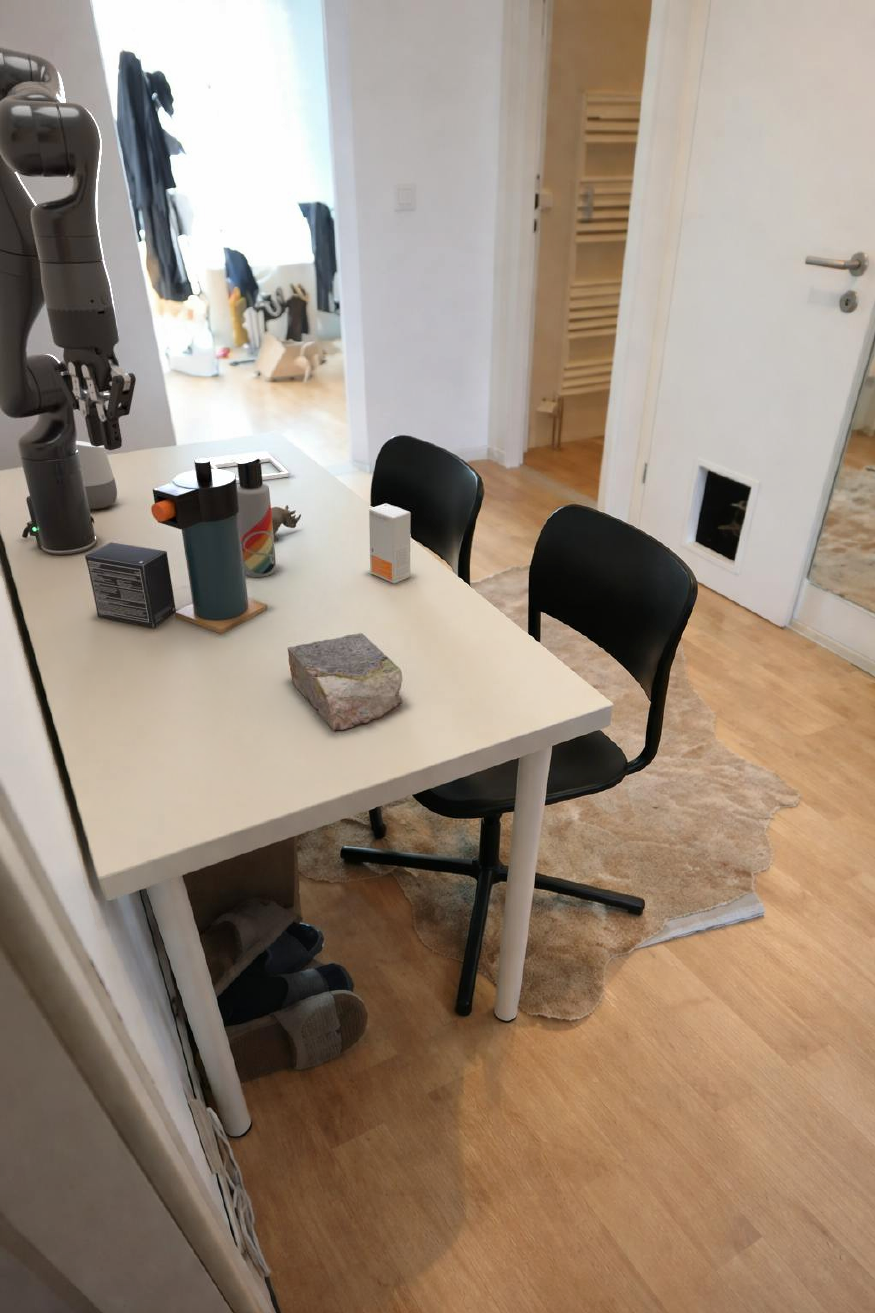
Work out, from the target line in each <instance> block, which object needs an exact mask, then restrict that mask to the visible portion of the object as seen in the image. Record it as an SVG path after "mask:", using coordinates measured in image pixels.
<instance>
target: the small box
mask: <svg viewBox="0 0 875 1313" xmlns="http://www.w3.org/2000/svg"><path fill="white" fill-rule="evenodd" d="M84 558H85V562H86V565H87V570H88V574H89V579H90V585H91V590H92V593H93V598H94V604H95V608H96V614H97V615H96V616H97V618H100V619H104V620H105V619H106V620H110V621H114V622H119V623H120V622H121V623H125V624H132V625H136V626H141V627H147V628H151V629H154V628H156V627H157V626H158V625H160V624H161V623H162V622H164V621H166V620H167V619H168V618H169V617H171V616H173V615H175V612H176V611H177V609H176V602H175V595H174V590H173V584H172V583H173V582H172V577H171V571H170V564H169V563H170V562H169V559H168V558H169V557H168V550H163V549H156V548H150V547H149V548H148V547H143V546H137V545H131V544H124V543H119V542H109V543H106V544H105V545H102V546H100V547H99V548H97V549H94V550H93V551H90V552H89V553H87V554H85V556H84Z"/></svg>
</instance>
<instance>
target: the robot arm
mask: <svg viewBox="0 0 875 1313" xmlns="http://www.w3.org/2000/svg"><path fill="white" fill-rule="evenodd" d="M101 156H102V138H101V132H100V129H99V126H98V124H97V122H96V120H95V118H94V117H93V115H92V113H91V112H89V111H88V109H87V108H86V107H85V106H83V105H82V104H79V103H75V102H69V101H68V102H66V98H65V90H64V85H63V81H62V78H61V75H60V72H59V71H58V69H57V68H56V66H55V65H54V64H53V63H52V62H51V61H50V60H48V59H47V58H45V57H42V56H39V55H36V54H34V53H33V54H32V53H27V52H24V51H20V50H17V49H16V50H15V49H11V48H6V47H2V46H0V411H1V412H2V413H3V414H4V415H6V416H8V417H9V418H11V419H25V418H30V417H35V416H37V417H38V418H37V419H36V421H35V422H34V424H33V425H32V426H31V427H30V428H29V429H28V430H27V431H25V432H24V433H23V434H21V436H19V437H18V440H17V450H18V453H19V457H20V462H21V466H22V470H23V473H24V478H25V482H26V486H27V490H28V495H27V497H26V499H25V502H26V504H27V510H28V513H29V517H30V520H29V521H28V522H26V525H27V526H26V527H25V528H24V529H23V531H22V535H21V537H22V538H23V539H27V538H28V537H29V536H30V537H34V538H35V541H36V545H37V548H38V549H41V550H42V552H44V553H46V554H49V555H55V556H56V555H57V556H58V555H59V556H61V555H62V556H64V555H66V556H67V555H74V554H78V553H82V552H84V551H88V550H90V549H92V548H93V547H94V546H96V545H97V542H98V541H97V540H98V539H97V537H96V533H95V528H94V524H95V519H94V517H93V516H92V515H91V514H92V513H91V511H90V508H89V503H88V499H87V494H86V489H85V484H84V479H83V474H82V469H81V465H80V460H79V455H78V451H77V446H76V441H77V437H78V428H77V423H76V416H75V411H76V410H78V411H79V412H80V415H81V416H82V417H83V418H84V420H85V426H86V429H87V436H88V438H89V443H91V445H92V446H96V447H98V446H104V448H105V450H106V451H107V450H108V451H113V450H114V451H115V450H118V449H121V447H122V445H123V439H122V433H121V428H120V421H119V420H120V418H121V417H125V416H128V415H130V413H131V407H132V402H133V397H134V393H135V388H136V387H135V386H136V382H137V378H136V375H135V374H134V373H133V372H125V371H124V370H122V369H121V368H120V364H119V359H118V357H117V356H116V353H115V350H114V348H115V346H116V345H117V344H119V342H120V334H119V328H118V323H117V316H116V311H115V304H114V299H113V293H112V287H111V282H110V277H109V274H108V271H107V267H106V264H105V260H104V253H103V247H102V241H101V236H100V229H99V222H98V183H99V173H100V165H101ZM18 174H19V175H21V176H25V177H31V178H33V177H34V178H68V177H69V178H72V187H71V189H70V191H69V193H68V194H67V195H65V196H63V197H61V198H58V199H53V200H49V201H44V202H41V203H37V204H36V202H35V201H34V199H33V198H32V196H31V195H30V193H29V191H28V190H27V189H26V187H25V185H24V184H23V182H22V180H21V179H20V176H19V175H18ZM45 307H46V312H47V318H48V321H49V322H48V323H49V326H50V331H51V336H52V342H53V343H54V345H55V346H57V347H58V348H62V349H63V353H62V358H63V360H61V362H60V361H59V360H58V359H57V358H56V357H55V356H53V355H52V354H48V353H38V354H33V355H32V354H31V355H28V346H29V340H30V336H31V333H32V330H33V328H34V326H35V324H36V322H37V320H38V319H39V317H40V315H41V313H42V311H43V309H44V308H45ZM104 392H105V393H104ZM106 402H108V404H107V406H106ZM28 535H29V536H28Z"/></svg>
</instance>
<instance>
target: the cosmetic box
mask: <svg viewBox="0 0 875 1313" xmlns="http://www.w3.org/2000/svg"><path fill="white" fill-rule="evenodd" d="M411 514H412V513H411V512H410V511H408V510H406V509H403V508H401V507H399V506H395V505H391V504H389V503H387V502H386V503H383V504H380V505H376V506H374V507H371V508H369V509H368V521H369V522H368V523H369V524H368V526H369V571H370V574H371V575H374V576H376V577H377V578H380V579H383V580H385V581H387V582H389V583H391V584H393V585H395V584H396V583H397V584H398V583H400V582H401V581H404V580H406V579H409V578H410V577H411V518H412V516H411Z"/></svg>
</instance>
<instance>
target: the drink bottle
mask: <svg viewBox="0 0 875 1313" xmlns="http://www.w3.org/2000/svg"><path fill="white" fill-rule="evenodd" d="M193 463H194V470H188V471H185V472H181V473H179V474H177V475H175V476H174V477H173V479H172V482H169V483H166V484H164V485H161V486H159V487H154V488H152V494H153V495H152V496H153V502H154V504H155V503H158V502H161V501H163V500H166V499H170V500H174V506H175V512H176V517H173V518H171V519H168V520H165V521H163V522H159V521H157V523H159V524H162V525H165V526H169V527H172V528H174V529H178V530H181V535H182V541H183V549H184V555H185V562H186V570H187V574H188V575H187V576H188V582H189V588H190V597H191V602H192V603H193V610H194V613H195V614H196V615H197V616H198V617H200V618H202V619H206V620H227V619H232V618H235V617H238V616H240V615H242V614H243V613H245V612H246V611H247V609H248V606H249V604H248V598H249V597H248V587H247V578H246V574H245V568H244V559H243V550H242V541H241V532H240V523H239V514H238V512H239V502H238V492H237V485H238V483H236V478H237V476H236V474H235V473H233V472H232V471H228V470H225V469H220V468H217V469H211V463H210V459H206V458H205V457H204V458H203V457H201V458H197V459H195V460H194V462H193ZM192 603H191V604H192Z"/></svg>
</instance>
